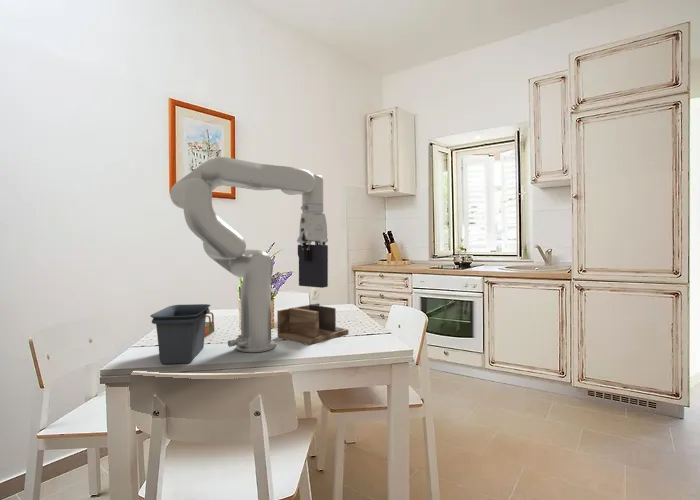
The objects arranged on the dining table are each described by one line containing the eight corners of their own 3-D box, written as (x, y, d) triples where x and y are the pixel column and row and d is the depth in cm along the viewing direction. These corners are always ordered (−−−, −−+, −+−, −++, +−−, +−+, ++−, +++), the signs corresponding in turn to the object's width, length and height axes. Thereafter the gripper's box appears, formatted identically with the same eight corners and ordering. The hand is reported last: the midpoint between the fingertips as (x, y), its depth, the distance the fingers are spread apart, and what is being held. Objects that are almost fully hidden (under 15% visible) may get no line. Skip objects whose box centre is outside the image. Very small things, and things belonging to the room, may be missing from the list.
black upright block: (329, 286, 149) (329, 244, 148) (322, 288, 145) (322, 244, 145) (304, 284, 155) (304, 244, 154) (297, 286, 151) (297, 244, 151)
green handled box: (174, 343, 142) (173, 331, 142) (193, 332, 158) (192, 321, 158) (198, 343, 142) (197, 330, 142) (214, 332, 158) (214, 321, 158)
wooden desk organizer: (309, 344, 138) (308, 314, 138) (277, 337, 148) (277, 309, 148) (348, 333, 153) (348, 306, 153) (317, 327, 164) (317, 301, 163)
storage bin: (171, 347, 136) (169, 303, 136) (219, 345, 138) (219, 302, 138) (147, 368, 115) (146, 317, 115) (205, 365, 117) (204, 315, 116)
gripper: (302, 208, 140) (303, 262, 141) (336, 210, 153) (336, 260, 154) (287, 209, 145) (288, 261, 146) (321, 211, 158) (322, 259, 158)
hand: (313, 260), depth 150 cm, fingers closed on black upright block, 4 cm apart
